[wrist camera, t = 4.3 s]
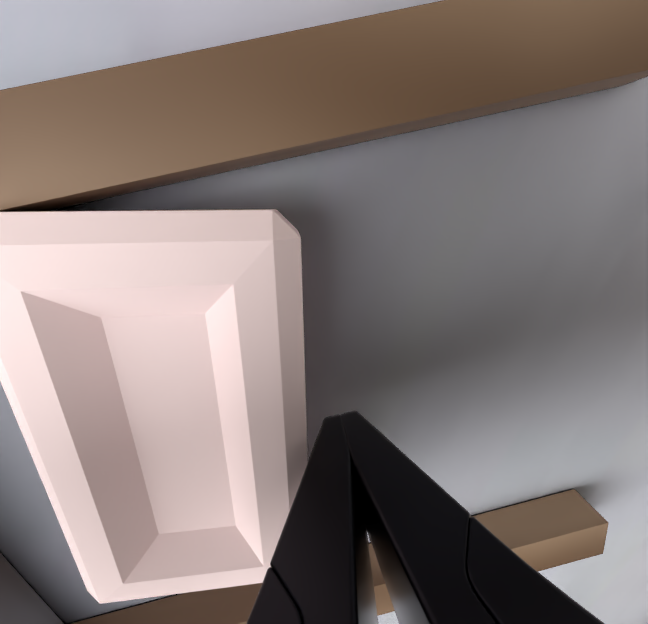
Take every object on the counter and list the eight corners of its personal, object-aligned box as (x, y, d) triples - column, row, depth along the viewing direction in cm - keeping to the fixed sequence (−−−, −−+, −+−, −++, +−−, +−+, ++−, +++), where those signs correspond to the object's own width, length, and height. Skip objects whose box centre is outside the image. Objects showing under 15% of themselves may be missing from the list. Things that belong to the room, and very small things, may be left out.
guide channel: (570, 518, 11) (666, 623, 8) (43, 661, 10) (-47, 829, 8) (632, -5, 6) (944, -195, 3) (-416, 211, 5) (-1240, 218, 2)
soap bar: (133, 520, 9) (83, 621, 7) (40, 210, 6) (-100, 214, 4) (306, 501, 10) (312, 590, 8) (296, 208, 7) (300, 209, 5)
